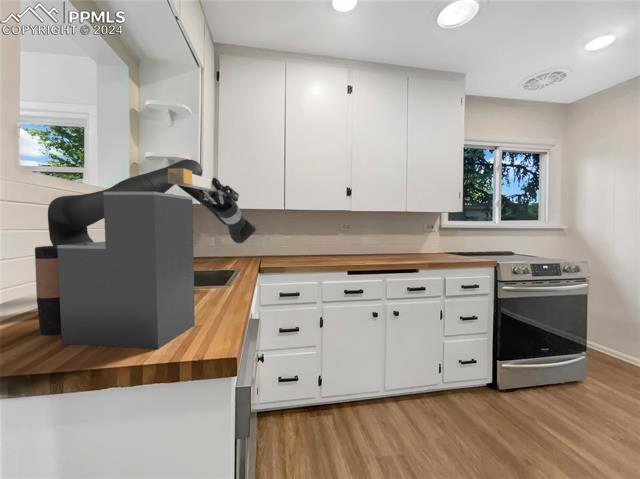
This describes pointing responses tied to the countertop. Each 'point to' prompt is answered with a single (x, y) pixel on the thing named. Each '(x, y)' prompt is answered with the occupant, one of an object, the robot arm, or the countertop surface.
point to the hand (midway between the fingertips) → (207, 180)
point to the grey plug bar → (189, 179)
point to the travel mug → (48, 290)
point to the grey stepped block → (131, 274)
